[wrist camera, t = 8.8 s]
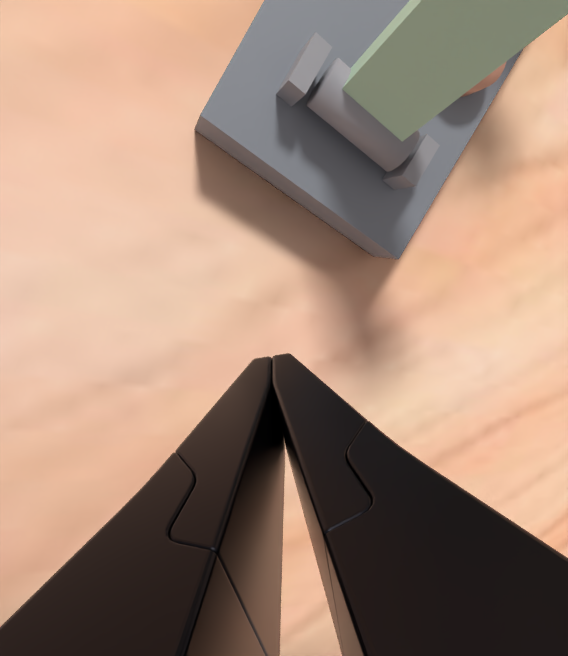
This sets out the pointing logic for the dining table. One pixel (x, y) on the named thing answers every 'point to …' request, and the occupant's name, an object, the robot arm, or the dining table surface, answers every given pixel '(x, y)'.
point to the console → (321, 138)
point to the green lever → (424, 69)
